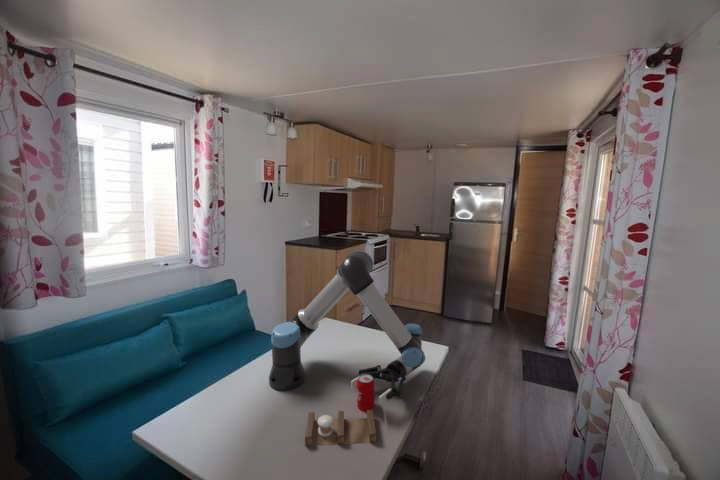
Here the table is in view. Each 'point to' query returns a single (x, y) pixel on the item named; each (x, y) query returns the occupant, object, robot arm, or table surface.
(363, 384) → the beverage can
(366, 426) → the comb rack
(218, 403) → the table surface
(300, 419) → the table surface
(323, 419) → the white knob
